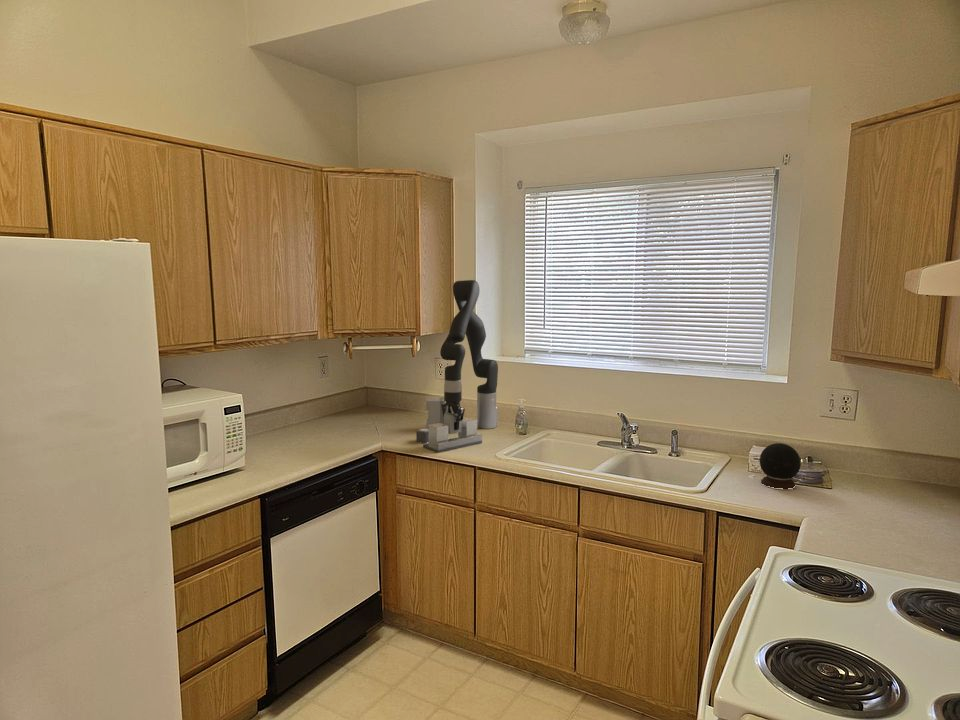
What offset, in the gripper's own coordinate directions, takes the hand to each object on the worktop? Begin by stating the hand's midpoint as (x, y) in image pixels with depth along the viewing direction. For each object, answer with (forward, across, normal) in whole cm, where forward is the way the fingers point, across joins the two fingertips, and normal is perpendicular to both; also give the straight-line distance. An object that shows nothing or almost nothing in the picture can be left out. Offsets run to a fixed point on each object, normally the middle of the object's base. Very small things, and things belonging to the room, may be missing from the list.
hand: (452, 428), depth 270 cm
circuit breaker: (+8, +24, -12) cm, 28 cm away
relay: (+7, +13, +6) cm, 16 cm away
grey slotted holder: (+7, 0, 0) cm, 7 cm away
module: (+1, 0, 0) cm, 1 cm away
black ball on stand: (+8, -114, -58) cm, 128 cm away
